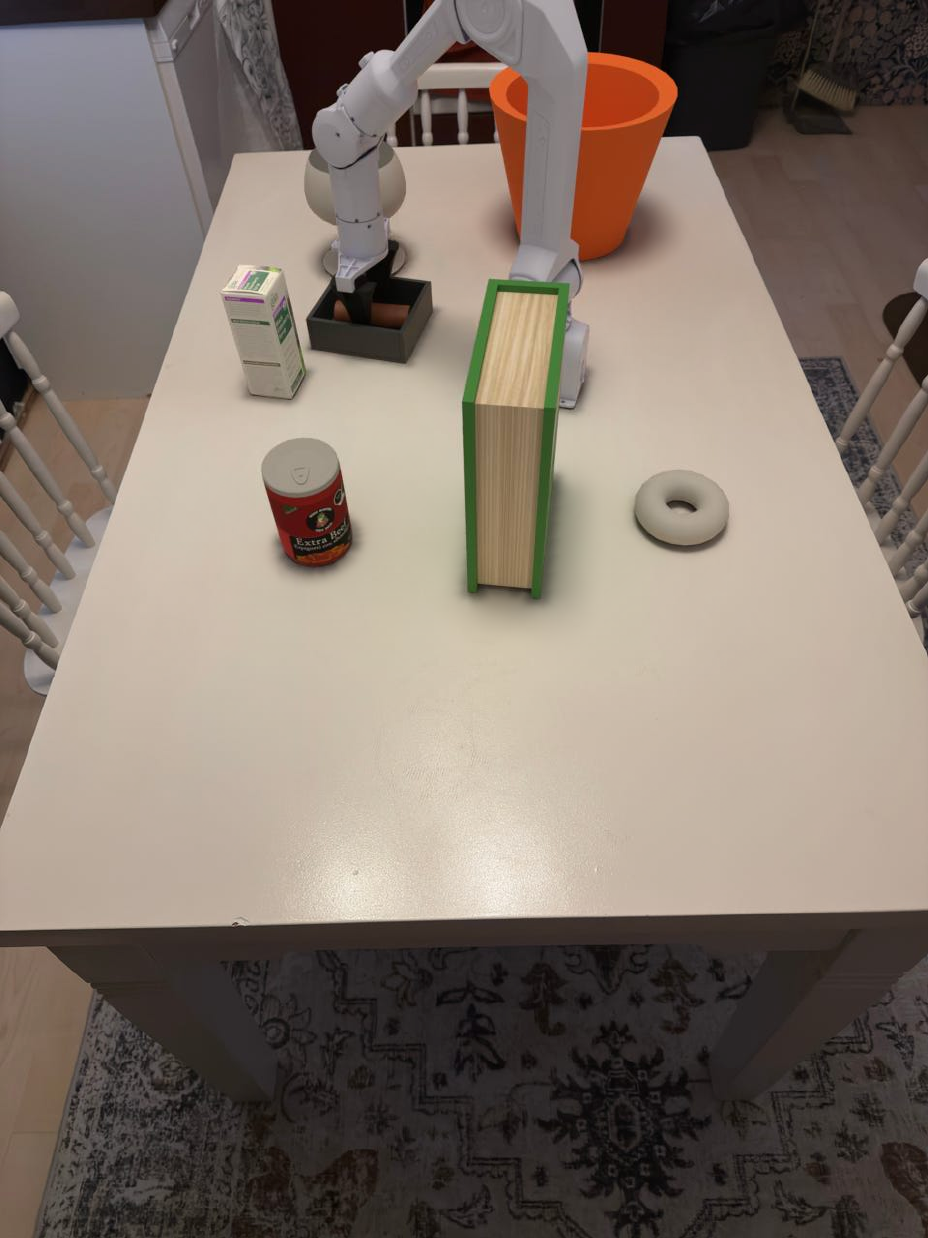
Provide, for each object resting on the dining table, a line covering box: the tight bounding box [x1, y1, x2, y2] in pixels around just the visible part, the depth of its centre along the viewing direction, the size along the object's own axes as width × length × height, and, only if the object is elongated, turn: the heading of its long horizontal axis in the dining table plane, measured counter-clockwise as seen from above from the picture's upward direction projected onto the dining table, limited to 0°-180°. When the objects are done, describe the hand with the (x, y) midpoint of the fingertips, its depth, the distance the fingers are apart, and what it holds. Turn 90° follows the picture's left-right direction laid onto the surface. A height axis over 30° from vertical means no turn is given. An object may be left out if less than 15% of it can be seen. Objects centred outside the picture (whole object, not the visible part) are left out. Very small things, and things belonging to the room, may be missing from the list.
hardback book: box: [461, 278, 570, 600], centre depth 80 cm, size 18×7×24 cm, turn 172°
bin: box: [305, 272, 434, 364], centre depth 111 cm, size 13×12×4 cm
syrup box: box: [220, 264, 307, 400], centre depth 101 cm, size 6×6×14 cm
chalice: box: [303, 140, 407, 277], centre depth 117 cm, size 14×14×15 cm
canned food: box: [260, 437, 353, 567], centre depth 85 cm, size 8×8×11 cm
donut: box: [634, 469, 730, 546], centre depth 89 cm, size 10×4×10 cm
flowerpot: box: [488, 51, 679, 262], centre depth 119 cm, size 25×25×20 cm
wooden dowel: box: [334, 300, 412, 329], centre depth 112 cm, size 10×3×3 cm
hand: (371, 312), depth 111 cm, fingers open, 7 cm apart
